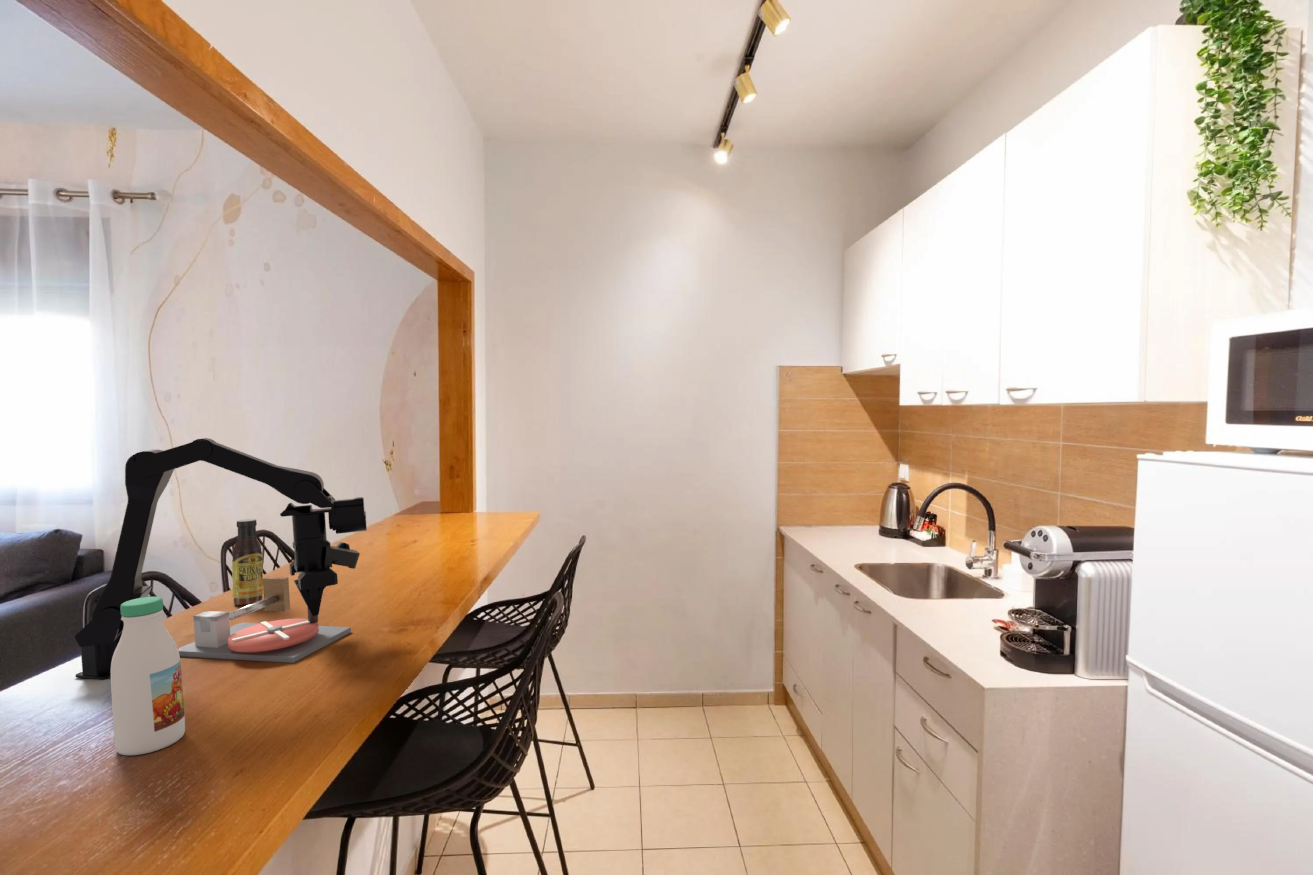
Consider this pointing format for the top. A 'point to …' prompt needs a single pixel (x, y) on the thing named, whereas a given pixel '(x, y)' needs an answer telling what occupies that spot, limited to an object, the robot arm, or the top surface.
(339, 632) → the mounting plate
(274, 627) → the handwheel
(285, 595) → the locking pin
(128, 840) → the top surface
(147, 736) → the milk bottle
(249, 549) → the sauce bottle
